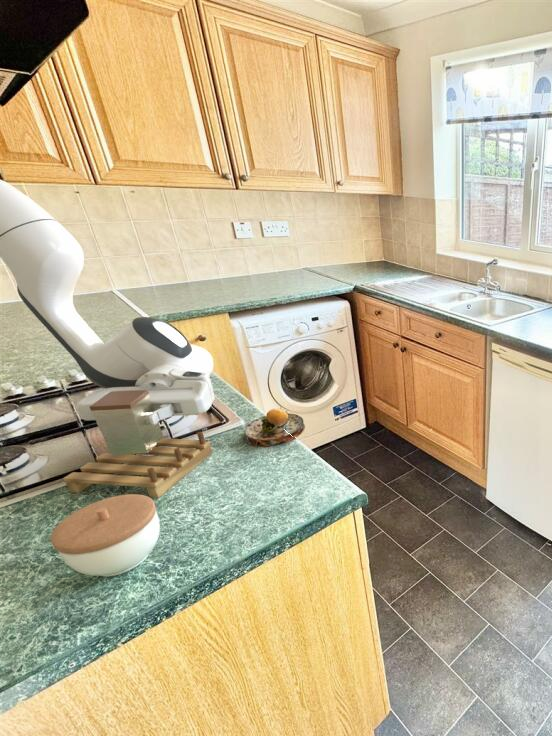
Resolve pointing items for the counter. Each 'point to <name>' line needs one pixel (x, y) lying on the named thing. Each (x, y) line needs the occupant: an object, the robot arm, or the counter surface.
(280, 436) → the open sandwich
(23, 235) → the robot arm
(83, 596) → the counter surface
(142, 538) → the trinket box
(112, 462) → the rack
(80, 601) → the counter surface
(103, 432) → the tea tin
